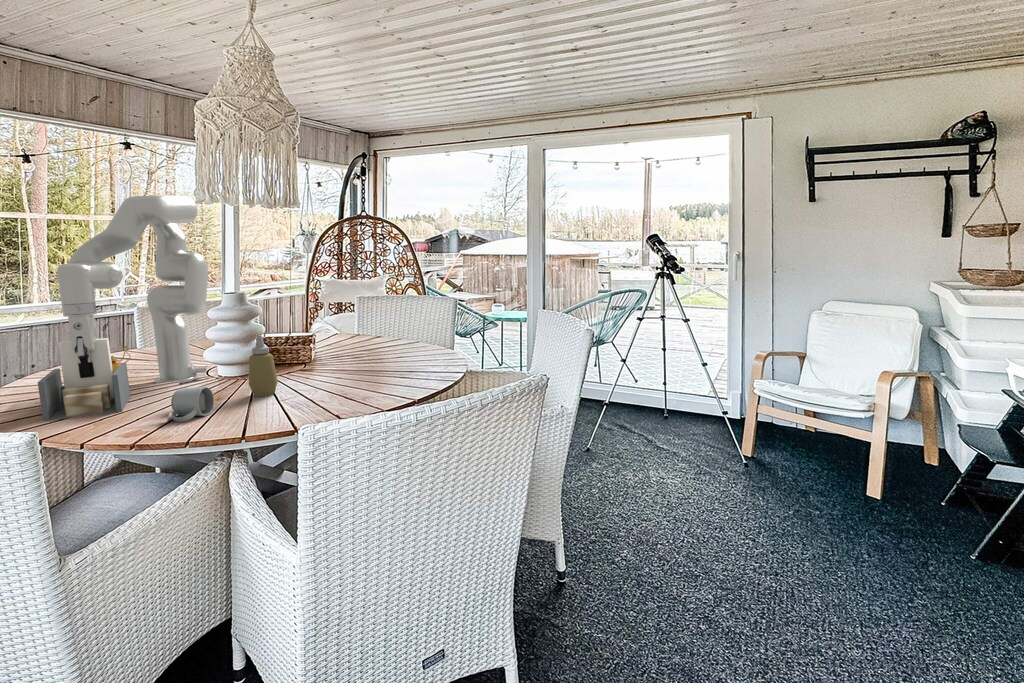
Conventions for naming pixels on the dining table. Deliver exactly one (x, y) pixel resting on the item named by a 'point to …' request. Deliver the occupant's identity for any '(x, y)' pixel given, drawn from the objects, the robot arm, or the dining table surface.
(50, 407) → the rack
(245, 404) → the dining table surface
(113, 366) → the magic lamp
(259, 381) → the squeeze bottle
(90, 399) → the oak offcut short
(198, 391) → the ceramic mug
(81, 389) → the oak offcut tall
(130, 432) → the dining table surface
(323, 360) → the dining table surface
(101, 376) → the white panel
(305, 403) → the dining table surface
